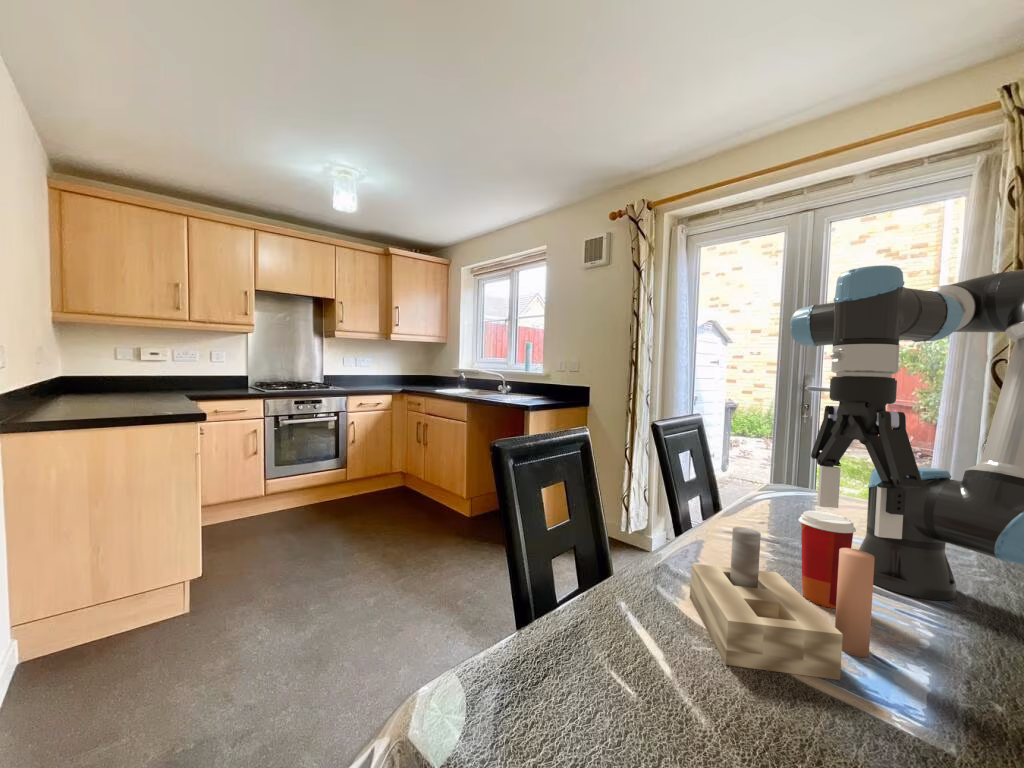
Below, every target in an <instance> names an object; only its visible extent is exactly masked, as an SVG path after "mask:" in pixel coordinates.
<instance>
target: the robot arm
mask: <svg viewBox="0 0 1024 768" xmlns="http://www.w3.org/2000/svg"><path fill="white" fill-rule="evenodd" d="M834 294H835V295H834V298H833V302H828V303H827V302H826V303H822V304H812V305H810V306H804V307H801V308H799V309H797V310H796V311H795V312H794V313H793V314H792V315H791V318H790V322H789V327H790V328H789V330H790V331H789V332H790V336H791V338H792V339H793V340H794V342H795V343H797V344H798V345H800V346H804V347H806V346H807V347H808V346H811V347H812V346H814V347H819V346H832V352H830V356H829V357H830V358H831V369H830V370H831V372H832V373H834V374H836V376H831V378H830V381H829V382H830V384H829V396H828V397H829V400H831V401H832V402H838V403H839V404H838V405H826V406H825V407H824V414H823V419H822V422H821V425H820V427H819V431H818V433H817V437H816V439H815V440H814V445H813V447H812V450H811V453H810V457H811V459H812V460H816V463H817V465H819V467H818V468H819V469H818V470H819V471H818V483H817V484H818V487H817V504H816V505H817V507H820V508H833V509H838V508H839V505H840V503H839V501H840V483H841V466H842V464H841V462H840V461H841V459H842V458H843V456H844V454H845V453H846V452H847V450H848V449H849V447H850V446H851V444H852V443H853V441H854V440H857V441H859V443H860V444H862V445H864V446H865V449H866V451H867V452H868V455H869V457H870V459H871V461H872V464H873V466H874V468H873V469H872V470H871V471H870V475H869V480H868V485H867V488H868V492H867V493H868V496H867V515H866V516H867V517H866V533H865V536H864V539H863V540H862V543H861V544H860V547H859V549H858V550H861V551H864V552H867V553H869V554H871V555H873V556H874V557H875V560H874V577H873V585H876V586H878V587H880V588H884V589H886V590H889V591H892V592H896V593H899V594H903V595H906V596H911V597H915V598H920V599H925V600H931V601H949V600H950V601H951V600H954V599H955V598H957V597H956V596H957V583H956V580H955V577H954V574H953V572H952V571H953V570H952V569H951V566H950V563H949V560H948V557H947V555H946V544H949V545H953V546H956V547H959V548H962V549H967V550H970V551H972V552H976V553H978V554H979V553H980V554H982V555H986V556H988V557H992V558H995V559H999V560H1000V561H1003V562H1005V563H1009V564H1010V563H1011V564H1016V565H1020V566H1024V268H1023V269H1017V270H1011V271H1001V272H998V273H991V274H987V275H983V276H979V277H973V278H971V279H967V280H963V281H959V282H955V283H951V284H945V285H938V286H935V287H933V288H930V289H927V290H924V289H917V288H909V287H905V281H904V273H903V271H902V269H901V268H900V267H898V266H894V265H887V264H884V265H868V266H862V267H857V268H852V269H849V270H846V271H844V272H842V273H841V274H840V275H839V276H838V277H837V279H836V286H835V293H834ZM953 333H1004V334H1005V336H1006V337H1007V338H1008V339H1010V340H1011V341H1012V342H1013V343H1014V344H1013V347H1012V351H1011V355H1010V356H1009V357H1010V358H1009V360H1008V366H1007V369H1006V372H1005V376H1004V378H1003V382H1002V386H1001V390H1000V392H999V393H1000V394H999V396H998V400H997V403H996V407H995V411H994V414H993V418H992V421H991V424H990V427H989V432H988V435H987V439H986V442H985V446H984V449H983V453H982V456H981V460H980V462H979V463H978V464H977V465H976V464H975V465H974V466H971V467H968V468H966V469H964V474H963V477H962V480H957V479H952V475H951V473H950V471H949V470H947V469H941V468H934V467H932V468H931V467H918V465H917V461H916V458H915V455H914V451H913V449H912V448H913V447H912V444H911V443H910V442H911V441H910V439H909V435H908V432H907V424H906V423H907V421H906V413H905V412H903V411H889V410H888V411H887V410H886V409H887V408H886V406H887V405H893V404H894V403H896V401H897V391H898V389H897V387H898V380H896V378H895V377H893V375H895V374H898V373H899V357H900V341H912V342H915V343H920V342H921V343H922V342H924V343H925V342H935V341H939V340H942V339H943V340H944V339H945V338H947V337H949V336H950V335H952V334H953Z"/></svg>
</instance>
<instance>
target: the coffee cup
mask: <svg viewBox="0 0 1024 768" xmlns="http://www.w3.org/2000/svg"><path fill="white" fill-rule="evenodd" d="M798 522H800V525H801V526H800V528H801V529H800V532H801V534H800V535H801V536H800V537H801V541H800V542H801V552H800V553H801V593H802V597H804V598H805V599H806V600H807V601H808V602H809V603H812V604H815V605H818V606H821V607H824V608H828V609H836V600H837V583H838V565H839V549H840V548H852V545H853V538H854V533H856V532H857V530H856V527H854V522H853V521H852V520H850V519H849V518H848V517H846V516H843V515H840V514H835V513H832V512H826V511H819V510H805V511H803V513H802V514H800V517H799V518H798Z"/></svg>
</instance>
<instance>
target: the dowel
mask: <svg viewBox="0 0 1024 768" xmlns="http://www.w3.org/2000/svg"><path fill="white" fill-rule="evenodd" d="M874 560H875V557H874V556H873V555H871V554H869V553H867V552H864V551H861V550H859V549H857V548H853V547H851V548H840V549H839V565H838V583H837V600H836V608H835V619H834V620H835V621H834V627H835V628H836V629H838V630H839V631H840V632H841V633H842V634H843V637H842V652H843V653H846V654H848V655H851V656H853V657H859V658H867V657H869V655H870V642H871V627H872V626H871V625H872V624H871V623H872V606H873V594H874V593H873V591H874V584H873V577H874Z"/></svg>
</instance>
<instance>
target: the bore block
mask: <svg viewBox="0 0 1024 768" xmlns="http://www.w3.org/2000/svg"><path fill="white" fill-rule="evenodd" d="M761 535H762V534H761V532H760V531H758V530H755V529H753V528H749V527H744V526H743V527H742V526H736V527H733V528H732V536H731V537H732V538H731V555H730V567H727V566H717V565H708V564H698V563H691V565H690V567H691V568H690V584H689V585H690V586H689V598H690V601H691V603H692V605H693V606H694V608H695V610H696V612H697V614H698V616H699V617H700V619H701V621H702V623H703V625H704V626H705V629H706V631H707V632H708V634H709V636H710V638H711V640H712V642H713V644H714V645H715V648H716V649H717V651H718V652H719V655H720V657H721V658H722V661H723V662H724V664H725V666H733V667H740V668H748V669H755V670H761V671H762V670H764V671H770V672H778V673H786V674H791V675H799V676H805V677H806V676H808V677H813V678H814V677H815V678H821V679H827V680H828V679H830V680H837V681H840V680H841V673H842V672H841V669H842V666H841V665H842V654H843V653H842V652H843V651H842V637H843V634H842V633H841V632H840V631H839V630H838V629H836V628H835V625H833V624H832V623H831V622H830V621H829V620H828V619H827V618H826V617H825V616H824V615H823V614H822V613H820V612H819V610H817V609H816V608H815V607H814V605H812V604H811V602H810V601H809V600H807V599H806V598H805V597H804V596H803V595H802V594H801V593H799V591H797V590H796V589H795V588H794V587H793V586H792V585H791V584H790V583H789V582H788V581H787V580H786V579H785V578H783V576H781V575H780V574H779V573H778V572H775V571H766V570H760V553H761V552H760V551H761Z"/></svg>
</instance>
